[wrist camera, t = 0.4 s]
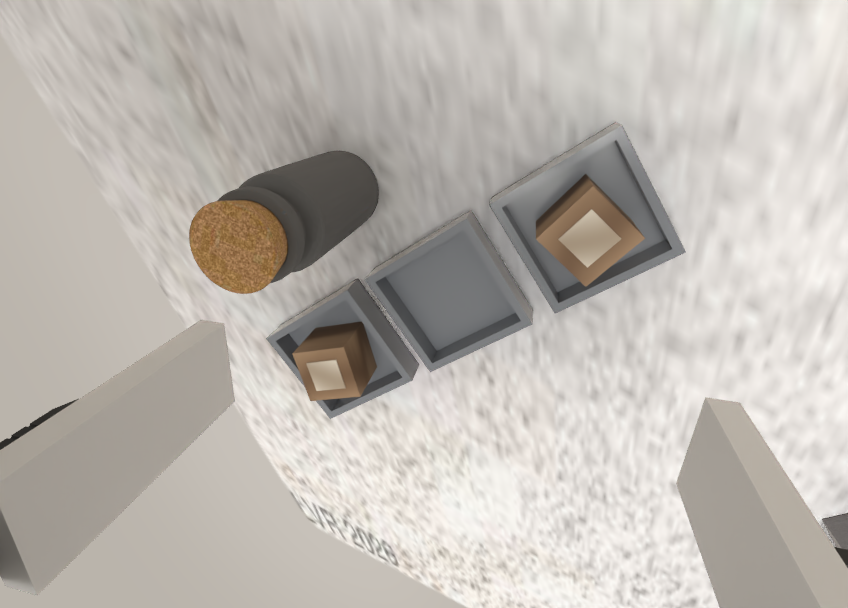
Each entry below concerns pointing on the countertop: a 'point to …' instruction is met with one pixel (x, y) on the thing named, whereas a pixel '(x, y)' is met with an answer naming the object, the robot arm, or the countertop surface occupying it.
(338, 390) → the cube
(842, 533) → the toaster caddy
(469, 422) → the countertop surface
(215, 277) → the bottle
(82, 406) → the robot arm
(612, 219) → the cube
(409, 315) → the dish
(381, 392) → the dish
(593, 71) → the countertop surface
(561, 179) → the dish
